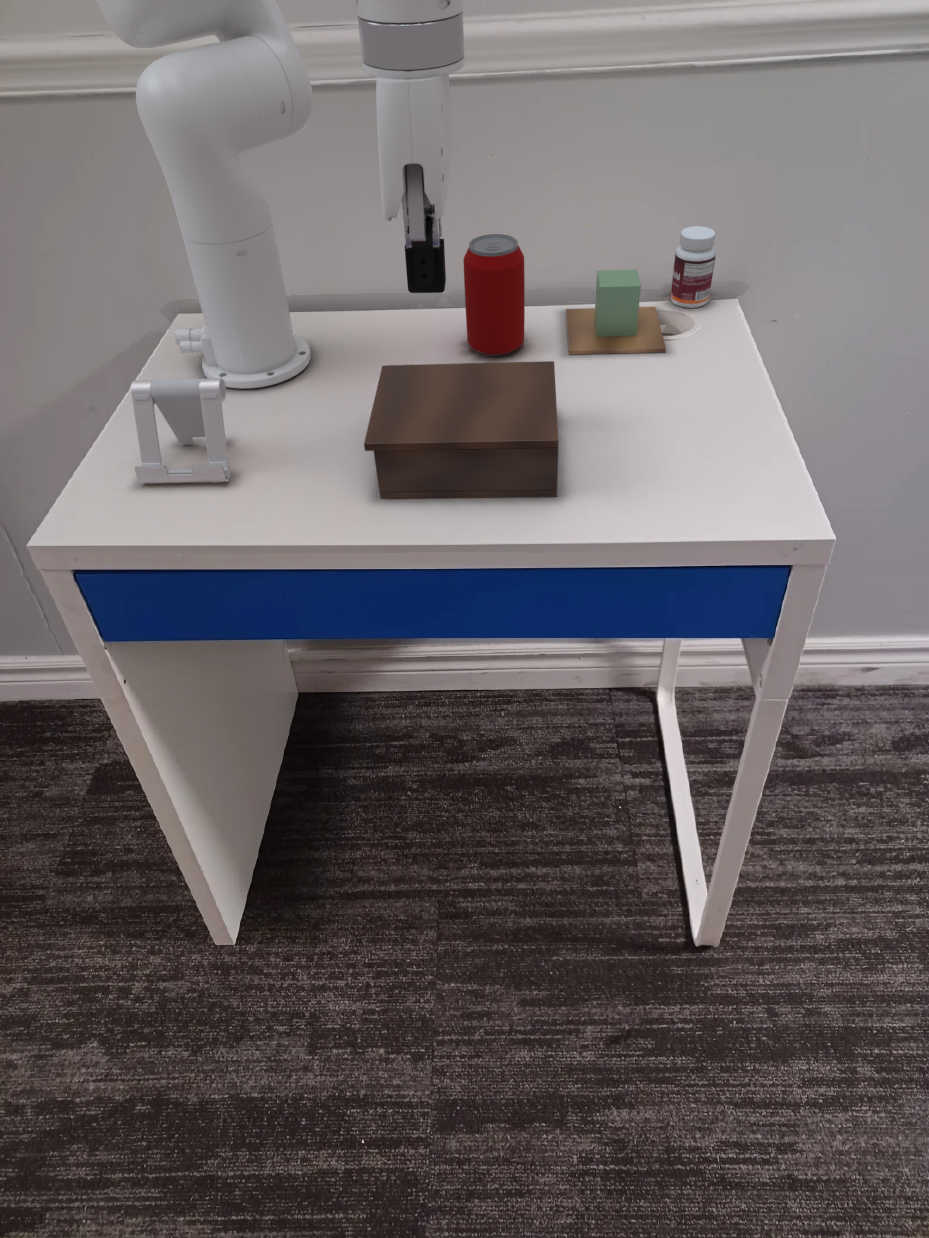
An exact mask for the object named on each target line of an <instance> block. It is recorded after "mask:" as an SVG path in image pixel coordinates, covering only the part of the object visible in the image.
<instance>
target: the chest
mask: <svg viewBox="0 0 929 1238" xmlns="http://www.w3.org/2000/svg"><path fill="white" fill-rule="evenodd" d="M373 455H374V456H373V457H374V463H375V470H376V471H375V472H376V477H377V485H378V486H377V487H378V492H379V498H380V500H394V499H395V500H396V499H397V500H398V499H402V500H403V499H404V500H405V499H408V500H409V499H467V498H468V499H476V498H477V499H481V498H483V499H484V498H486V499H487V498H488V499H491V498H556V497H557V496H558V475H559V474H558V473H559V446H558V447H555V448H500V449H445V450H390V451H373Z"/></svg>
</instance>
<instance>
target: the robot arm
mask: <svg viewBox="0 0 929 1238" xmlns="http://www.w3.org/2000/svg"><path fill="white" fill-rule="evenodd" d="M94 1H95V4H96V5H97V6H98V8H99V10H100V12H101V14H102V15H103V17H104V19H105V20H106V22H107V24H108V25H109V27H110V29H111V30H112V32H113V33H114V34H115V35H116V37H118V38H119V39H120V41H122V42H123V43H125V44H126V45H128V46H130V47H132V48H137V49H153V48H160V47H165V46H170V45H174V44H179V43H183V42H188V41H192V40H196V39H200V38H205V37H210V36H215V37H216V38H217V39H218V42H212V43H207V44H203V45H198V46H195V47H190V48H187V49H182V50H179V51H174V52H171V53H169V54H166V55H164V56H162V57H159V58H158V59H156V60H154V61H153V62H151V63H150V64H149V65H148V66H146V68H145V69H144V70H143V71H142V73H141V75H139V78H138V80H137V84H136V88H135V104H136V109H137V112H138V116H139V120H140V122H141V124H142V127H143V129H144V132H145V134H146V137H147V138H148V141H149V143H150V145H151V147H152V150H153V152H154V154H155V157H156V159H157V161H158V164H159V166H160V169H161V171H162V175H163V177H164V180H165V182H166V186H167V188H168V189H167V190H168V192H169V195H170V197H171V201H172V204H173V208H174V211H175V216H176V219H177V224H178V226H179V230H180V234H181V236H182V240H183V244H184V248H185V252H186V255H187V259H188V264H189V267H190V272H191V275H192V278H193V282H194V286H195V290H196V294H197V297H198V301H199V305H200V309H201V313H202V316H203V321H204V325H202V326H201V327H200V328H176V329H175V331H174V340H175V344H176V345H177V346H178V347H179V350H180V353H181V354H195V353H196V354H198V353H199V354H200V355H202V356H203V357H202V359H201V366H202V367H201V368H202V371H203V373H204V376H205V377H206V378H222V379H223V380H224V382H225V385H226V388H230V389H242V390H243V389H257V388H265V387H270V386H274V385H277V384H280V383H282V382H285V381H288V380H290V379H292V378H293V377H296V376H298V375H299V374H300V373H301V372H302V371H304V370H305V369H306V367H307V366H308V365H309V364H310V361H311V358H312V351H311V348H310V344H309V343H308V341H307V340H306V339H305V338H303V337H301V336H300V335H298V334H296V333H294V329H293V328H294V327H293V324H292V319H291V313H290V307H289V303H288V297H287V292H286V287H285V286H286V285H285V281H284V276H283V271H282V266H281V261H280V255H279V250H278V244H277V240H276V235H275V229H274V225H273V220H272V215H271V210H270V206H269V202H268V199H267V197H266V195H265V193H264V191H263V190H262V188H261V186H260V185H259V184H258V183H257V182H256V181H255V179H253V177H251V175H249V173H247V171H246V170H245V169H244V168H243V167H242V165H241V163H240V161H239V160H240V157H241V156H244V155H246V154H249V153H251V152H252V151H257V150H259V149H263V148H265V147H269V146H272V145H275V144H278V143H281V142H283V141H286V140H289V139H292V138H294V137H295V136H297V135H299V134H300V133H301V132H303V131H304V130H305V129H306V128H307V127H308V125H309V123H310V121H311V119H312V116H313V111H314V95H313V94H314V93H313V87H312V83H311V79H310V76H309V73H308V70H307V66H306V64H305V62H304V60H303V57H302V55H301V53H300V50H299V48H298V46H297V44H296V41H295V39H294V36H293V34H292V33H291V30H290V27H289V26H288V24H287V21H286V19H285V17H284V14H283V13H282V11H281V8H280V6H279V4H278V2H277V0H94ZM463 9H464V3H463V0H356V10H357V22H358V34H359V43H360V53H361V64H362V70H363V72H365V74H368V75H370V76H373V77H375V109H376V110H375V111H376V114H375V115H376V132H377V133H376V137H377V151H378V152H377V153H378V154H377V155H378V168H379V169H378V170H379V183H380V184H379V187H380V202H381V203H380V204H381V216H382V217H383V219H384V220H386V222H391V221H392V219H396V218H397V216H398V213H399V210H400V207H402V208H401V209H402V215H403V216H402V219H403V228H404V239H405V243H404V258H405V269H406V270H405V271H406V283H407V284H406V285H407V291H408V292H409V293H411V294H441V293H444V292H445V290H446V283H447V273H446V253H445V252H446V251H445V238H442V233H443V232H442V231H443V230H442V217H443V216H444V214H445V210H446V204H447V199H448V193H449V184H450V170H451V149H452V148H451V147H452V145H451V141H452V140H451V139H452V138H451V96H450V95H451V94H450V74H452V73H455V72H458V71H459V70H461V69H462V68H464V66H465V31H464V30H465V27H464V10H463Z"/></svg>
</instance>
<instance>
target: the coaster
mask: <svg viewBox="0 0 929 1238" xmlns="http://www.w3.org/2000/svg"><path fill="white" fill-rule="evenodd" d="M565 320H566V321H565V322H566V333H567V334H566V335H567V344H568V347H567V348H568V355H607V354H608V355H609V354H649V353H650V354H651V353H666V351H667V348H666V344H665V340H664V335H663V331H662V328H661V327H662V326H661V323H660V319H659V316H658V312H657V307H656V306H639V312H638V323H637V334H636V336H612V337H597V334H596V326H595V307H592V308H588V307H587V308H585V307H584V308H565Z"/></svg>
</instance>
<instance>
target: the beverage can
mask: <svg viewBox="0 0 929 1238" xmlns="http://www.w3.org/2000/svg"><path fill="white" fill-rule="evenodd" d="M463 281H464V282H463V285H464V300H465V301H464V304H465V322H466V324H465V325H466V337H467V339H466V340H467V344H468V346H469V347H470V348H471V349H473V350H474V351H476V352H478V353H479V354H482V355H485V356H491V357H496V356H497V357H499V356H505V355H508V354H510V353H512V352H514V351H515V350H517V349H519V348H520V347H521V346H522V345H523V344H524V342H525V318H526V317H525V316H526V315H525V314H526V313H525V308H526V307H525V306H526V305H525V295H526V294H525V283H526V282H525V256H524V253H523V251H522V249H521V248H520V246H519V242H518V240H517V238H515V237H514V236H513V235H512V236H511V235H508V234H503V233H489V234H483V235H479V236H476V237H474V238H472V239H471V240H470V241H469V243H468V248H467V250H466V253H465V255H464V256H463Z"/></svg>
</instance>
